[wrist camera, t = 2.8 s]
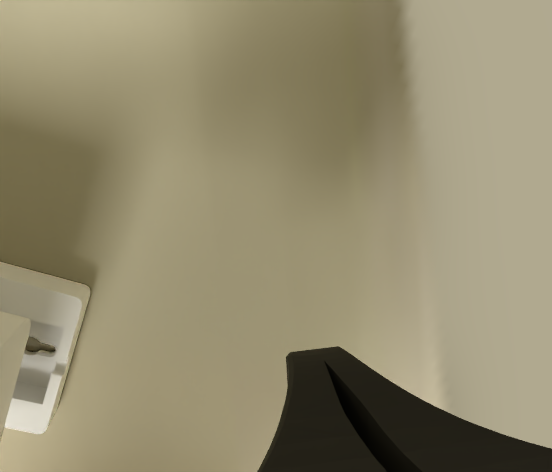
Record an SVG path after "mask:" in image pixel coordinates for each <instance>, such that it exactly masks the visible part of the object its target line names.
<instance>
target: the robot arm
mask: <svg viewBox="0 0 552 472" xmlns="http://www.w3.org/2000/svg"><path fill="white" fill-rule="evenodd" d="M286 364H287V381H288V389H287V396H286V400H285V404H284V408H283V412H282V415H281V419H280V422H279V425H278V428H277V431H276V433H275V436H274V438H273V441H272V443H271V446H270V448H269V450H268V452H267V454H266V456H265V458H264V460H263V462H262V464H261V466H260V468H259V470H258V471H257V472H552V449H551V448H546V447H543V446H540V445H536V444H532V443H528V442H525V441H522V440H518V439H515V438H512V437H509V436H506V435H503V434H500V433H498V432H495V431H492V430H489V429H487V428H484V427H481V426H478V425H476V424H473V423H471V422H468V421H466V420H463V419H461V418H459V417H456V416H454V415H452V414H450V413H448V412H446V411H444V410H441V409H439V408H437V407H435V406H433V405H431V404H429V403H427V402H425V401H423V400H421V399H420V398H418V397H416V396H414V395H413V394H411V393H409V392H407V391H406V390H404V389H402V388H400V387H399V386H397V385H396V384H394V383H392V382H391V381H389V380H388V379H386V378H384V377H383V376H381V375H380V374H378V373H377V372H375V371H374V370H372V369H371V368H370V367H368V366H367V365H365V364H364V363H362V362H361V361H360V360H358V359H357V358H355V357H354V356H352V355H351V354H350V353H348V352H347V351H345V350H344V349H342V348H341V347H330V348H322V349H313V350H305V351H297V352H290V353H289V354H288V356H287V357H286Z"/></svg>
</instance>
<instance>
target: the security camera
mask: <svg viewBox="0 0 552 472" xmlns="http://www.w3.org/2000/svg"><path fill="white" fill-rule="evenodd" d="M90 293H91V291H90V288H89V287H88V286H87V285H85V284H81V283H78V282H74V281H70V280H66V279H63V278H59V277H55V276H52V275H48V274H44V273H40V272H37V271H33V270H29V269H26V268H22V267H18V266H15V265H11V264H7V263H3V262H0V441H1V437H2V433H3V430H4V428H9V429H14V430H19V431H24V432H29V433H34V434H42V433H44V432H45V431H46V430H47V428H48V426H49V424H50V422H51V420H52V418H53V416H54V414H55V412H56V410H57V408H58V404H59V401H60V397H61V394H62V390H63V387H64V384H65V380H66V377H67V373H68V370H69V366H70V363H71V359H72V356H73V352H74V349H75V346H76V342H77V339H78V335H79V332H80V328H81V325H82V321H83V318H84V314H85V311H86V307H87V304H88V301H89V297H90ZM28 337H34V338H36V339H37V340H39V342H41V343H44V344H48V345H52V346H54V347H55V351H54V352H48V351H44V350H39V351H37V352H29V351H27V350H26V349H25V347H26V344H27V340H28Z"/></svg>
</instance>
